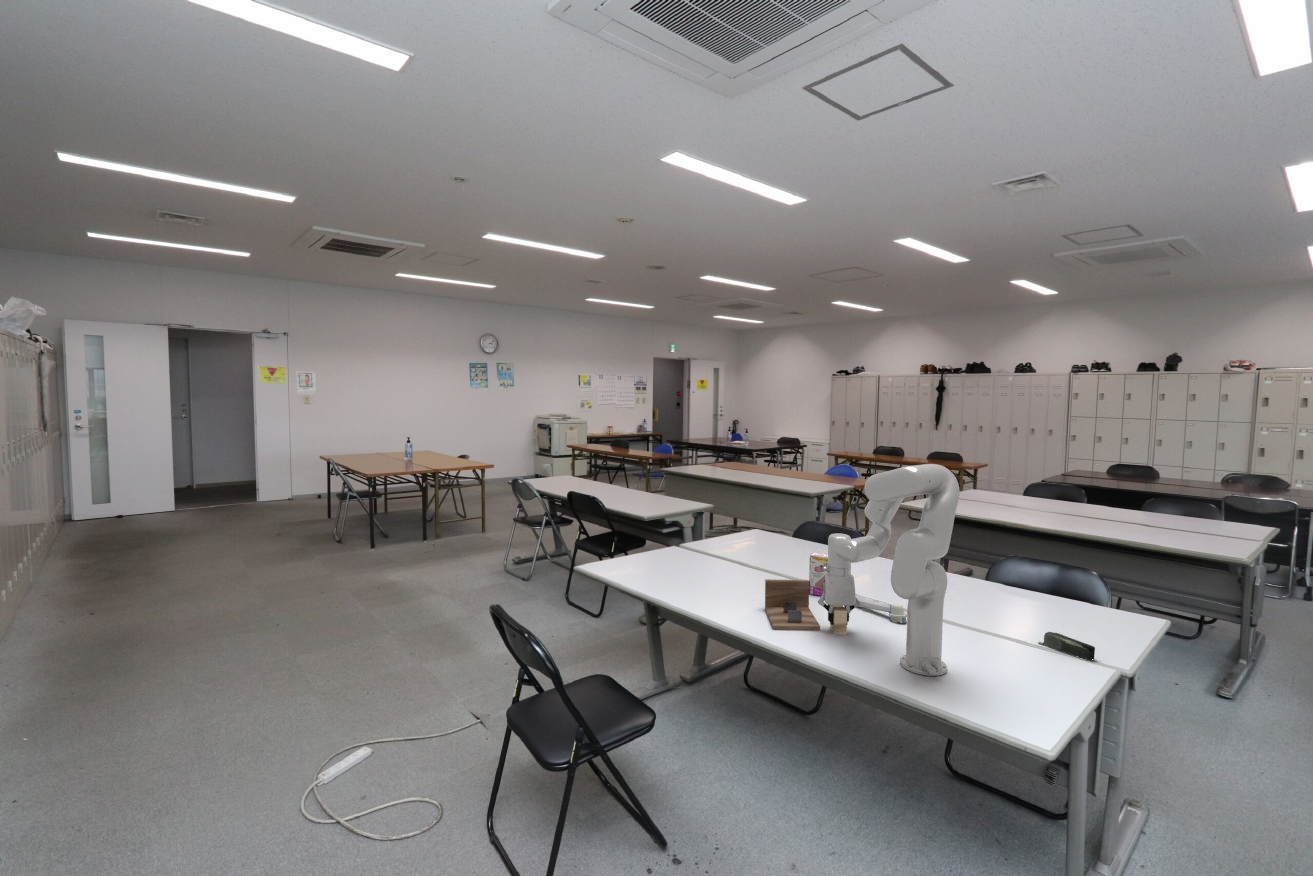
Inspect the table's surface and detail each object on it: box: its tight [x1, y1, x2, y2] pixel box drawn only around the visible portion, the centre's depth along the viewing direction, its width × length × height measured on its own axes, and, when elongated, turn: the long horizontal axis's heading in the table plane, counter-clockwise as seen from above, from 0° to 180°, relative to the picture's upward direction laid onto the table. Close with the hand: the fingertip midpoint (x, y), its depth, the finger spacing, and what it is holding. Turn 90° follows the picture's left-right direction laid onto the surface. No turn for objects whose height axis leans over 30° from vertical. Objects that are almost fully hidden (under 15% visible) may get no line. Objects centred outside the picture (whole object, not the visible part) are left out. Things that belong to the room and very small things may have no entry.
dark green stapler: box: [1037, 631, 1096, 661], centre depth 182 cm, size 5×3×15 cm
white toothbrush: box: [855, 593, 907, 624], centre depth 215 cm, size 5×7×25 cm
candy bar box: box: [808, 552, 828, 597], centre depth 234 cm, size 11×5×16 cm, turn 59°
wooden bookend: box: [764, 578, 821, 631], centre depth 209 cm, size 20×16×12 cm
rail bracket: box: [829, 605, 848, 635], centre depth 198 cm, size 6×4×8 cm, turn 178°
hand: (838, 622), depth 198 cm, fingers closed on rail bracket, 4 cm apart
